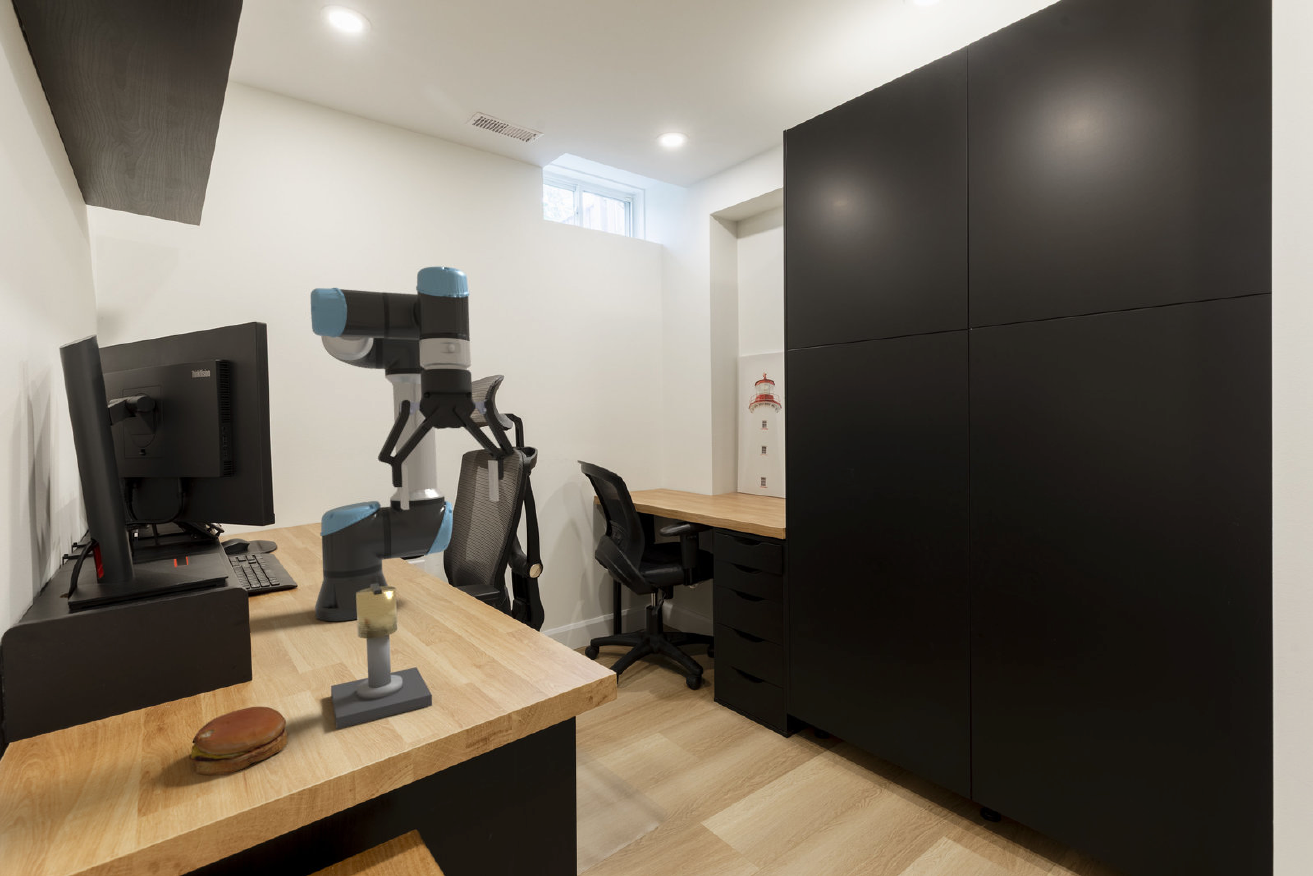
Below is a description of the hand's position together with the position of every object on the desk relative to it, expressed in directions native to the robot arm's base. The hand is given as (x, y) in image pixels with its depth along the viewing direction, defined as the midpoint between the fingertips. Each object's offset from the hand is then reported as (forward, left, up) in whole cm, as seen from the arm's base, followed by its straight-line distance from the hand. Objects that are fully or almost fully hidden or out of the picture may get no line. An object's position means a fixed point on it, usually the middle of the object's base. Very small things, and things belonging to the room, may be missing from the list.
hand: (451, 504), depth 95 cm
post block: (+2, -11, -27) cm, 30 cm away
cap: (+2, -11, -17) cm, 21 cm away
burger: (+8, -28, -28) cm, 40 cm away
